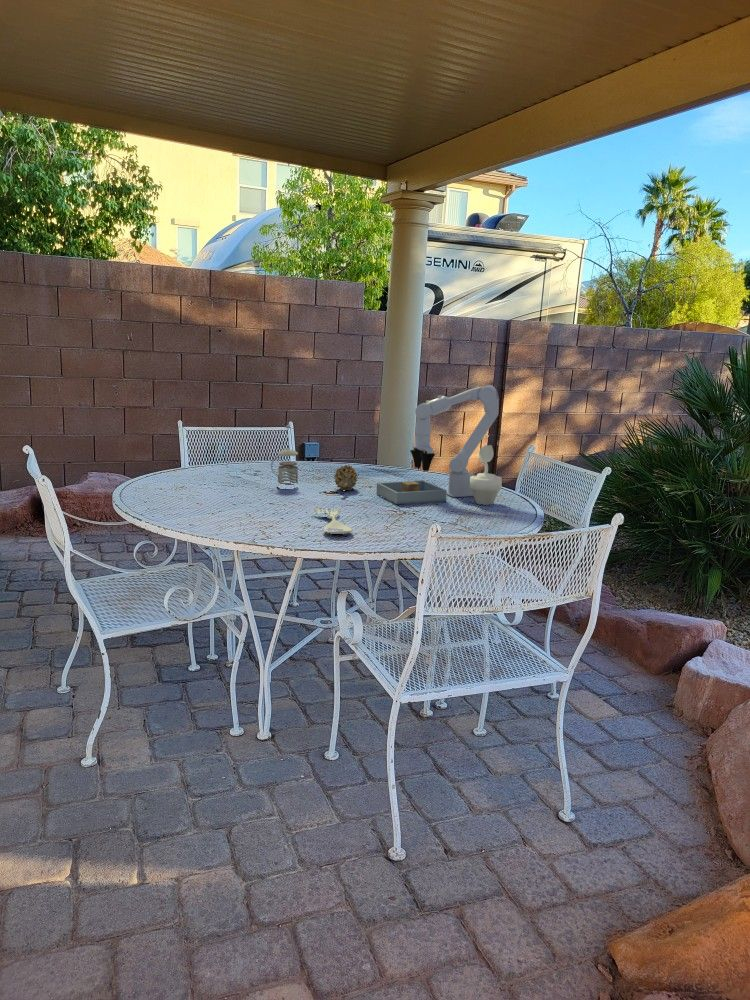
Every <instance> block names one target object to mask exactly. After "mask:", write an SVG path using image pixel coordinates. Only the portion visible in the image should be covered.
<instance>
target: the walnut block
mask: <svg viewBox="0 0 750 1000" xmlns="http://www.w3.org/2000/svg"><path fill="white" fill-rule="evenodd" d="M401 482H402V492H413V491H419V483H416V482H404V481H401Z"/></svg>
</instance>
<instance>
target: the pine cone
mask: <svg viewBox="0 0 750 1000" xmlns="http://www.w3.org/2000/svg"><path fill="white" fill-rule="evenodd" d="M333 474H334V473H333ZM333 476H334V477H333V479H334V481H333V482H334V483H335V485H336V487H337V488H340V490H341V491H342V490H346V491H347V490H348V489H349V491H351V490H353V489H354V488H355V487H356V485H357V482H358V477H357V476H358V473H357V470H356V468H355V467H353V466H352V465H350V464H345V465H341V466H339V468H338V467H336V470H335V474H334V475H333Z"/></svg>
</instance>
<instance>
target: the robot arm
mask: <svg viewBox="0 0 750 1000" xmlns="http://www.w3.org/2000/svg"><path fill="white" fill-rule="evenodd" d="M499 397H500V396H499V394H498V391H497V389H496V388H495V386H493V385H490V384H488V385H484V386H483V387H482V386H479V387H474V388H470V389H468V390H464V391H463V392H461V393H458V394H456V395H453V396H449V397H447V396H446V395H442V394H441V395H438V396H437V398H435V399H431V400H429V399H428V400H425V402H422V403H420V404H418V405H417V406H416V408H415V411H414V412H415V415H416V419H415V421H416V422H415V439H414V441H415V442H414V443H412V449H410V450H409V452H410V454H411V456H412V459H413V463H414V468H415V469H419V468H420V469H421V467H422V470H423V472H429V471H430V467H431V464H432V461H433V459H434V457H435V455H436V454H435V453H434V448H432V447H431V429H432V428H431V426H432V425H431V416H435V415H439V414H441V413H444V412H447V411H449V410H450V409H451V407H452V406H453V405H457V404H460V403H463V402H465V401H466V402H467V401H469V400H473V401H479V400H480V402H481V404H482V405H483V409H484V414H483V416H482V418H481V419H480V421H479V422H478V424H477V425H476V427H475V428H474V429H473V431H472V433H471V434H470V435H469V438H468V439H467V440H466V442H465V444H464V445H463V447H461V449H460V451H459V452H458V453H457V454H455V455H454V456H453V457H452V459H450V461H449V469H450V470H449V471H448V472H449V473H448V474H449V476H448V491H447V492H446V496H449V497H452V498H460V497H462V498H464V497H474V494H473V490H472V489H471V488H470V477H471V476H473V475H474V473H473V472H472V471H471V472H470V471H468V469H467V467H468V465H469V460H470V458H471V457H472V455H473V454H474V451H476V449H477V447H478V446H479V444H480V443H481V441H482V440H483V439H484V437H485V435H486V434H487V433H488V432H489V431H488V430H489V429H490V428H491V426H492V425H493V424H494V422H495V421H496V419H497V417H498V416H499V412H500V411H499V409H500V408H499V406H500V405H499Z"/></svg>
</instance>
